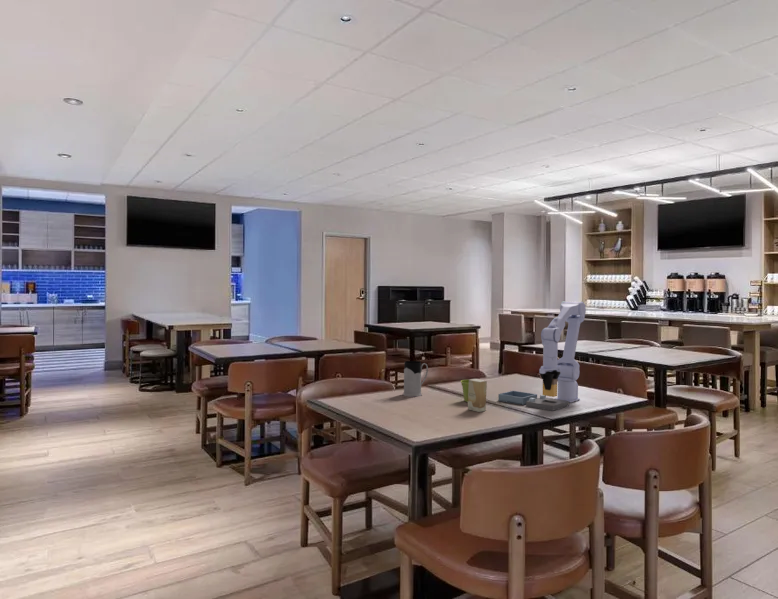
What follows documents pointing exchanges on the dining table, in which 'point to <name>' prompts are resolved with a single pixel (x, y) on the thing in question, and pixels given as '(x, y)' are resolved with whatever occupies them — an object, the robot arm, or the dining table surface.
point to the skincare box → (477, 395)
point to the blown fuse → (553, 389)
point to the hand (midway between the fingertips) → (549, 389)
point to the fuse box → (546, 403)
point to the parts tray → (516, 397)
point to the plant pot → (465, 389)
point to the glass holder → (413, 378)
